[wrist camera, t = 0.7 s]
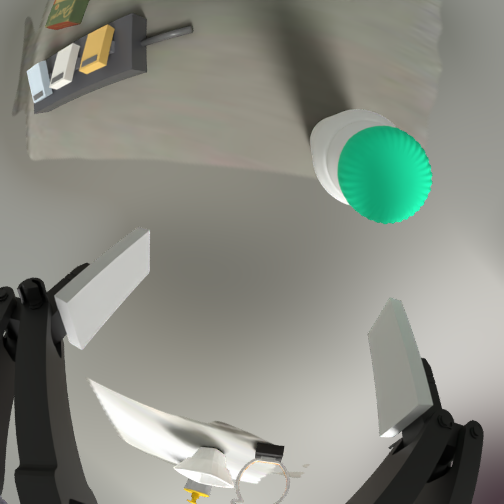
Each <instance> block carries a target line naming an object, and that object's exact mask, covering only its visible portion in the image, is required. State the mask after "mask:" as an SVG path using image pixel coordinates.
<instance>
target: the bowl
mask: <svg viewBox="0 0 504 504" xmlns="http://www.w3.org/2000/svg"><path fill="white" fill-rule="evenodd" d="M174 469H175V470H177V471H178V472H179V473H181V474H183V475H184V476H186V477H188V478H190V479H192V480H194V481H196V482H198V483H202V484H206V485H212V486H218V487H227V488H233V487H234V484H233V481H232V478H231V475H230V472H229V470H228V469H226V456H225V455H224V454H223V453H222V452H220V451H219V450H217V449H215V448H207V447H200V448H199V449H198V450H197V452H196V453H195V454H194V455H193V456H192V457H188V458H187V459H185V460H184V461H182V462H180V463H179V464H177V465H176V466H174Z"/></svg>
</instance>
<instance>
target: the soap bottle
mask: <svg viewBox="0 0 504 504" xmlns="http://www.w3.org/2000/svg"><path fill="white" fill-rule="evenodd" d="M211 487H212V485H206V484H202V483H198V482H196V481H194V480H192V479H190V478H189V479H188V481H187V483H186V485H185V487H184V490H186V491H188V492H190V493H192V495H191V497H192V500H191V501H189V500H187V501H189V502H190V503H193V504H196V500H197V499H198V498H199V496H204V497H209V495H210V491H211Z"/></svg>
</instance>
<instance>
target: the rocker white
mask: <svg viewBox="0 0 504 504" xmlns="http://www.w3.org/2000/svg"><path fill="white" fill-rule="evenodd" d="M79 49H80V46H79V45H76V44H74V43H72V44H70V45H69V46H67V47H66V48H64V49H62V50H61V51H59V52H58V54H57V57H56V61H55V65H54V69H53V73H52V77H51V82H50V86H49V88H53V89H56V90H57V89H59V88H61V87H63V86H64V85H66V84H68V83H70V82H72V78H73V74H74V69H75V65H76V60H77V56H78V52H79Z"/></svg>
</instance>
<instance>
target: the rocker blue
mask: <svg viewBox="0 0 504 504" xmlns="http://www.w3.org/2000/svg"><path fill="white" fill-rule="evenodd" d="M27 74H28V79H29V84H30V88H31V93H32V97H33V101H34V103H36V102H38V101H41V100H42V99H44V98H46V97H47V96H49V95H51V94H52V88H49V86H50V79H49V74H48V69H47V64H46V60H45V61H42V62H38V63H37V64H36V65H34V66H33V67H32V68H31V69H29V70H28V71H27Z"/></svg>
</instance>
